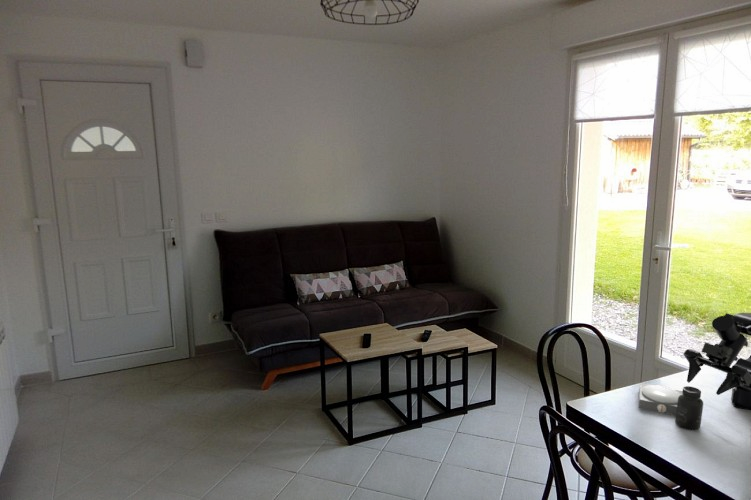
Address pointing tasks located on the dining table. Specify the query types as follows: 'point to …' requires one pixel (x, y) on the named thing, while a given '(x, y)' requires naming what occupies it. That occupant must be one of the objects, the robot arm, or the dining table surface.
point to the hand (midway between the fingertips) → (702, 387)
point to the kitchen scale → (658, 398)
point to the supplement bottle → (689, 409)
